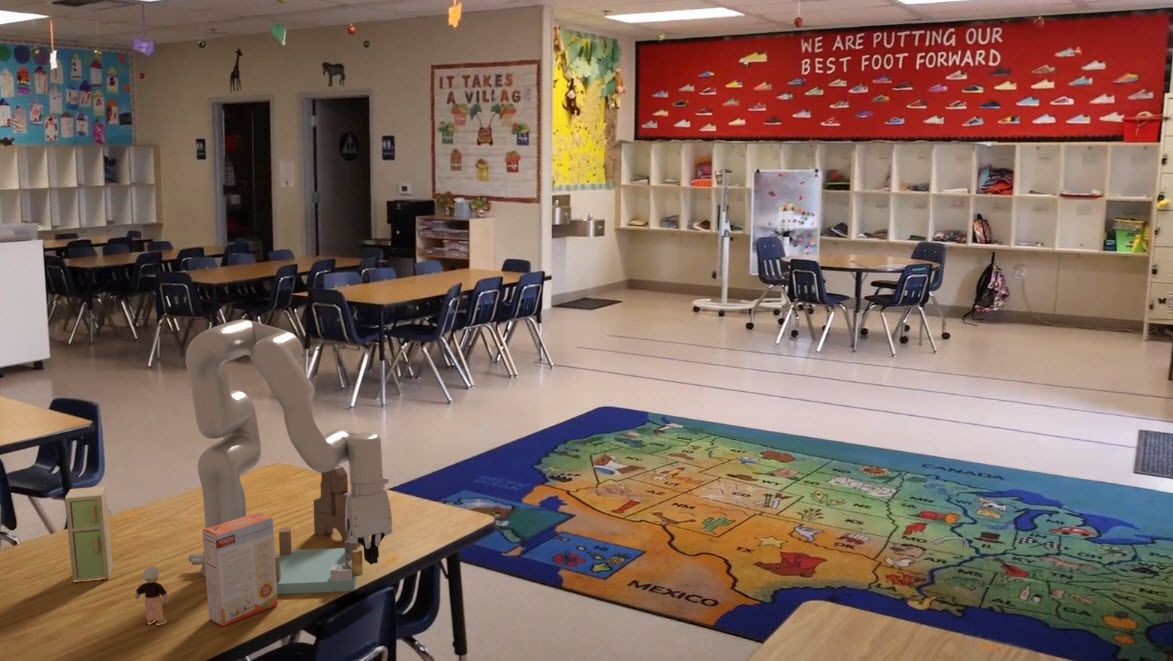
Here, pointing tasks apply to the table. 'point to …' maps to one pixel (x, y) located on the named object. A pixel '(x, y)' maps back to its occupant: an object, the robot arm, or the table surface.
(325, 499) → the wooden toy
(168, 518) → the table surface
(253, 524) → the cracker box
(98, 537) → the toy refrigerator
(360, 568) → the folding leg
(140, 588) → the grandmother figurine
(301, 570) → the mint green baseplate
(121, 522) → the table surface
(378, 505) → the robot arm
